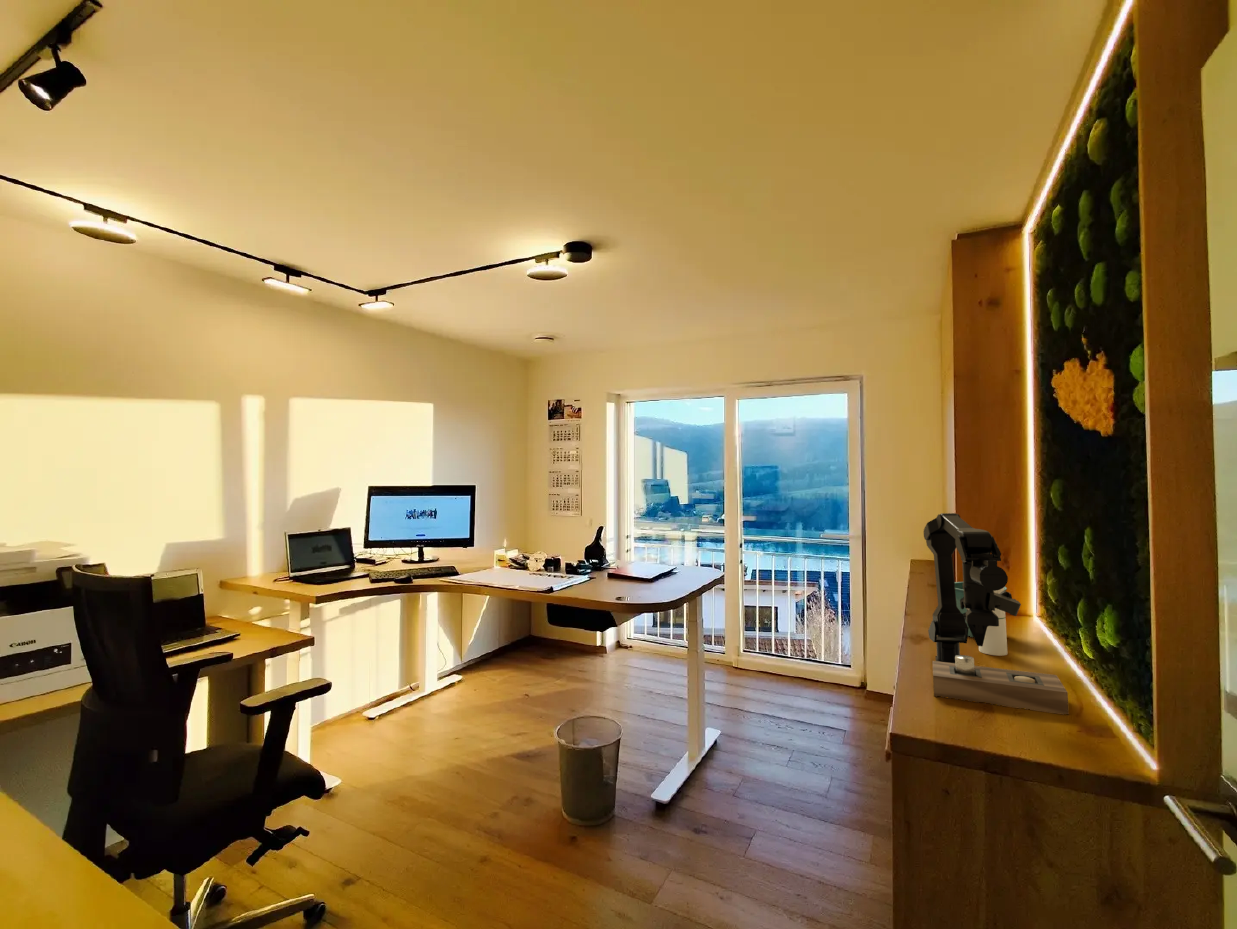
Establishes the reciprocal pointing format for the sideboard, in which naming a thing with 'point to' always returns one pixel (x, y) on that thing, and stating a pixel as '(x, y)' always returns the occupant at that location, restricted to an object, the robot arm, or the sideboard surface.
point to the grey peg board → (1001, 688)
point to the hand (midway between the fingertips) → (979, 645)
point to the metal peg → (964, 665)
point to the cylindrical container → (996, 635)
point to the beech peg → (1024, 679)
